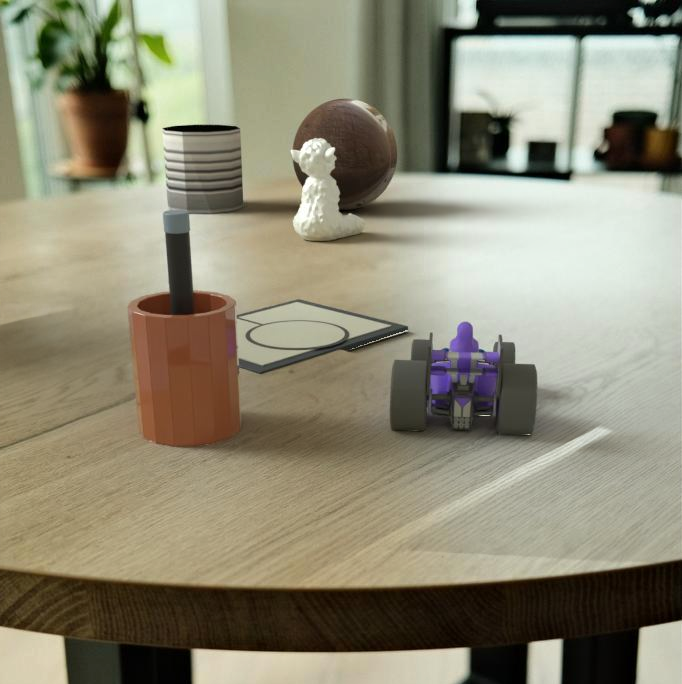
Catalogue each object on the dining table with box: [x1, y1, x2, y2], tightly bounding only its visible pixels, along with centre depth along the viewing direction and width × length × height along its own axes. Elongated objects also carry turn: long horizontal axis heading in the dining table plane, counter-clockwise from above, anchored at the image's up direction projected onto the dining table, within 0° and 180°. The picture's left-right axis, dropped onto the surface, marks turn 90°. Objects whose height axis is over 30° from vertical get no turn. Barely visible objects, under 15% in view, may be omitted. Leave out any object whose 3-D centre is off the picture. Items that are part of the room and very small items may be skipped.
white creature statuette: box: [290, 138, 366, 242], centre depth 128 cm, size 10×9×12 cm
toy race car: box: [389, 321, 538, 435], centre depth 73 cm, size 10×15×6 cm, turn 174°
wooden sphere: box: [292, 98, 398, 211], centre depth 146 cm, size 15×15×15 cm
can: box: [161, 124, 244, 215], centre depth 148 cm, size 11×11×12 cm
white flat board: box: [237, 298, 409, 375], centre depth 89 cm, size 14×18×1 cm
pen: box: [162, 209, 195, 315], centre depth 66 cm, size 2×2×14 cm
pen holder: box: [127, 289, 242, 448], centre depth 67 cm, size 7×7×9 cm
